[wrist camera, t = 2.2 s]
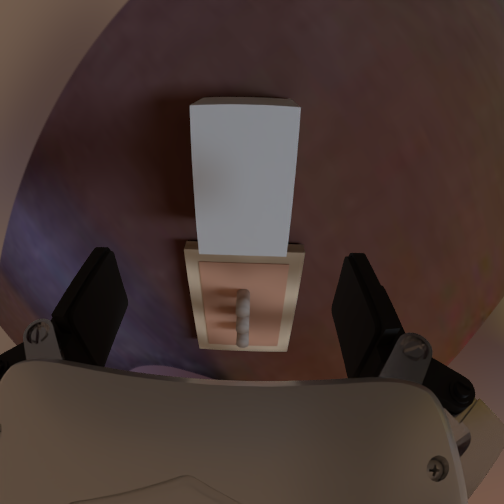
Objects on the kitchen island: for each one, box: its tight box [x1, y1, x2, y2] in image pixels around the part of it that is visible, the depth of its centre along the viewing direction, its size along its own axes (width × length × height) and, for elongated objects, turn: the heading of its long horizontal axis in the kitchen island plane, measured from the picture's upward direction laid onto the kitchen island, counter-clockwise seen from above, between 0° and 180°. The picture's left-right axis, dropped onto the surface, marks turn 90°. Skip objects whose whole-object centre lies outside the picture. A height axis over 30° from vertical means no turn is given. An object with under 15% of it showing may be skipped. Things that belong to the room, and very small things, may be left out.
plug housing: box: [190, 97, 301, 257], centre depth 19 cm, size 10×6×4 cm, turn 178°
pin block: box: [184, 241, 305, 351], centre depth 27 cm, size 14×10×4 cm
